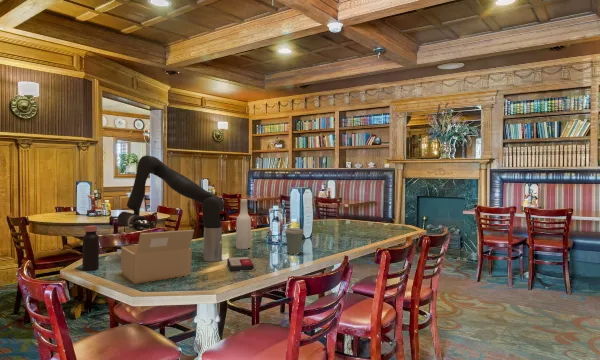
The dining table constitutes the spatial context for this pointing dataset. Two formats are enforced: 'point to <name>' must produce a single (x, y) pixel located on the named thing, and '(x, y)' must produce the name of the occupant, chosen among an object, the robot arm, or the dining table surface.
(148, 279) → the carton
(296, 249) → the disposable coffee cup
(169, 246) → the carton flap
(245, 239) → the alcohol
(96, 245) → the bottle
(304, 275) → the dining table surface
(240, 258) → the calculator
